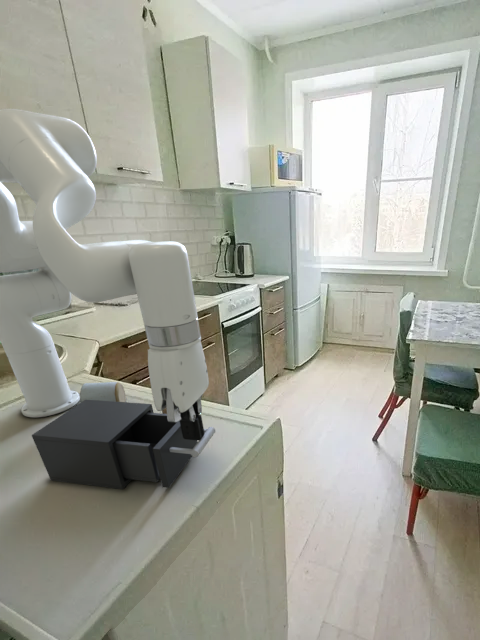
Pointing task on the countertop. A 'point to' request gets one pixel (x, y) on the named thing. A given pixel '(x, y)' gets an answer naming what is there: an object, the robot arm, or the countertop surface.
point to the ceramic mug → (103, 392)
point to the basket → (156, 449)
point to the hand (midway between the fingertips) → (194, 437)
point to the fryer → (88, 442)
